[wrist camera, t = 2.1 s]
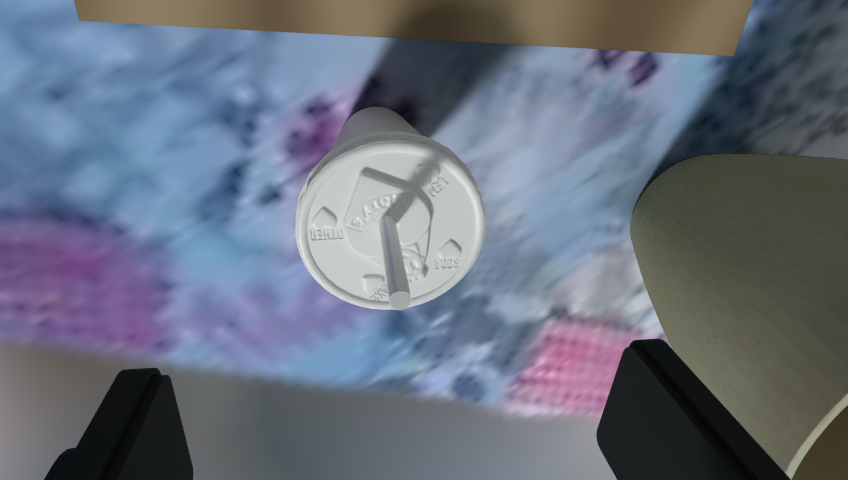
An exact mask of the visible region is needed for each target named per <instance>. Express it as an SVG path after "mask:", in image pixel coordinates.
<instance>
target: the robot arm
mask: <svg viewBox="0 0 848 480" xmlns="http://www.w3.org/2000/svg"><path fill="white" fill-rule="evenodd" d="M597 441H598V445H599V447H600V450H601V451H602V453H603V454H604V457H605V458H606V460H607V462H608V464H609V466H610V467H611V469H612V471H613V473H614V474H615V476H616V478H617V480H791V479H790V478H789V477H788V476H787V475H786V473H785V472H784V471H783V470H782V469H781V468H780V467H779V466H778V465H777V464H776V463H775V461H774V460H773V459H772V458H771V457H770V456H769V455H768V454H767V453H766V452H765V450H764V449H763V448H762V447H761V446H760V445H759V444H758V443H757V442H756V441H755V440H754V438H753V437H752V436H751V435H750V434H749V433H748V432H747V431H746V430H745V429H744V427H743V426H742V425H741V424H740V423H739V422H738V421H737V420H736V419H735V418H734V416H733V415H732V414H731V413H730V412H729V411H728V410H727V409H726V408H725V407H724V406H723V404H722V403H721V402H720V401H719V400H718V399H717V398H716V397H715V396H714V395H713V393H712V392H711V391H710V390H709V389H708V388H707V387H706V386H705V385H704V384H703V382H702V381H701V380H700V379H699V378H698V377H697V376H696V375H695V374H694V373H693V372H692V370H691V369H690V368H689V367H688V366H687V365H686V364H685V363H684V362H683V361H682V359H681V358H680V357H679V356H678V355H677V354H676V353H675V352H674V351H673V350H672V348H671V347H670V346H669V345H668V344H667V343H666V342H665V341H663V340H661V339H647V340H635V341H633V342H632V343H631V344H630V346H629V347H627V348H626V349H625V350H624V352H623V354H622V357H621V360H620V363H619V366H618V369H617V372H616V375H615V378H614V381H613V384H612V387H611V390H610V393H609V396H608V399H607V402H606V405H605V408H604V411H603V414H602V417H601V420H600V423H599V426H598V429H597ZM44 480H193V467H192V462H191V459H190V454H189V450H188V446H187V442H186V438H185V434H184V430H183V426H182V422H181V419H180V414H179V410H178V406H177V402H176V398H175V394H174V390H173V386H172V382H171V379H170V377H169V376H168V375H161V373H160V371H159V370H158V369H157V368H145V369H127V370H122V371H120V372H119V374H118V375H117V377H116V378H115V380H114V382H113V384H112V385H111V387H110V389H109V391H108V392H107V394H106V396H105V398H104V399H103V401H102V403H101V405H100V406H99V408H98V410H97V412H96V413H95V415H94V417H93V419H92V420H91V422H90V424H89V426H88V427H87V429H86V431H85V433H84V435H83V436H82V438H81V440H80V442H79V443H78V445H77V447H76V448H71V449H67V450H66V451H65V452H63V453H62V454H61V455H60V456H59V457H58V458H57V460H56V461H55V462H54V464H53V466H52V467H51V469H50V471H49V472H48V474H47V476H46V477H45V479H44Z"/></svg>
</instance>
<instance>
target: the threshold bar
mask: <svg viewBox="0 0 848 480" xmlns="http://www.w3.org/2000/svg"><path fill="white" fill-rule="evenodd" d="M74 2H75V6H76V10H77V14H78V18H79V21H93V22H111V23H130V24H148V25H167V26H185V27H203V28H222V29H240V30H259V31H277V32H296V33H314V34H332V35H351V36H369V37H388V38H406V39H424V40H443V41H461V42H480V43H498V44H516V45H535V46H553V47H572V48H590V49H609V50H627V51H645V52H664V53H682V54H701V55H719V56H734V54H735V51H736V48H737V45H738V42H739V40H740V37H741V34H742V31H743V28H744V26H745V23H746V20H747V17H748V14H749V12H750V9H751V6H752V3H753V0H74Z"/></svg>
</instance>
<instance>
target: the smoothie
mask: <svg viewBox="0 0 848 480" xmlns="http://www.w3.org/2000/svg"><path fill="white" fill-rule="evenodd" d="M485 229H486V215H485V208H484V203H483V200H482V196H481V194H480V192H479V189H478V186H477V184H476V182H475V180H474V178H473V176H472V175H471V173H470V171H469V169H468V167H467V166H466V165H465V164H464V163H463V162H462V161H461V160H460V159H459V158H458V157H457V156H456V155H455V154H454V153H453V152H452V151H451V150H450V149H449V148H447V147H445V146H443V145H441V144H440V143H438V142H436V141H434V140H432V139H430V138H428V137H426V136H422V135H421V134H420V133H419V132H418V131H416V130H415V129H414V128H413V127H412V126H411V125H410V124H409V123H408V122H407V121H406V120H405V119H403V118H402V117H401V116H400V115H399V114H397V113H396V112H394V111H392V110H390V109H387V108H383V107H369V108H365V109H362V110H360V111H358V112H356V113H355V114H353V115H352V116H351V117H350V118H349V119H348V120H347V121H346V123H345V124H344V126H343V128H342V130H341V132H340V134H339V136H338V138H337V140H336V142H335V144H334V146H333V148H332V150H331V152H329V153H327V154H326V155H325V157H324V158H323V159H322V160H321V161H320V162H319V163H318V164H317V165H316V166H315V167H314V168H313V170H312V171H311V172H310V173H309V175H308V177H307V179H306V181H305V183H304V185H303V187H302V189H301V191H300V194H299V199H298V205H297V211H296V230H295V231H296V241H297V246H298V250H299V253H300V256H301V258H302V260H303V262H304V264H305V266H306V268H307V269H308V271H309V272H310V274H311V275H312V276H313V277H314V279H315V280H316V281H317V282H318V283H319V284H320V285H321V286H322V287H324V288H325V289H326V290H327V291H329V292H330V293H332V294H333V295H335V296H336V297H338V298H340V299H342V300H344V301H346V302H349V303H352V304H354V305H358V306H361V307H366V308H372V309H385V310H389V309H396V310H403V309H406V308H407V307H412V306H416V305H419V304H422V303H425V302H427V301H430V300H432V299H434V298H436V297H438V296H440V295H441V294H443V293H445V292H446V291H448V290H449V289H450V288H452V287H453V286H454V285H455V284H457V283H458V282H459V281H460V280H461V279H462V278H463V277H464V275H465V274H466V273H467V272H468V271H469V269H470V268H471V267H472V265H473V263H474V262H475V260H476V258H477V256H478V254H479V252H480V250H481V247H482V244H483V240H484V236H485Z"/></svg>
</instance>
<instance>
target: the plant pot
mask: <svg viewBox="0 0 848 480" xmlns="http://www.w3.org/2000/svg"><path fill="white" fill-rule="evenodd" d="M630 234H631V240H632V244H633V248H634V251H635V255H636V258H637V262H638V265H639V268H640V271H641V275H642V278H643V280H644V283H645V286H646V289H647V291H648V294H649V297H650V299H651V302H652V304H653V307H654V309H655V311H656V314H657V316H658V319H659V321H660V323H661V326H662V328H663V330H664V332H665V335H666V337H667V339H668V341H669V343H670V345H671V348H672V350H673V351H674V352H675V353H676V354H677V355H678V356H679V357H680V358H681V359H682V361H683V362H684V363H685V364H686V365H687V366H688V367H689V368H690V369H691V370H692V372H693V373H694V374H695V375H696V376H697V377H698V378H699V379H700V380H701V381H702V382H703V384H704V385H705V386H706V387H707V388H708V389H709V390H710V391H711V392H712V393H713V395H714V396H715V397H716V398H717V399H718V400H719V401H720V402H721V403H722V404H723V406H724V407H725V408H726V409H727V410H728V411H729V412H730V413H731V414H732V415H733V416H734V418H735V419H736V420H737V421H738V422H739V423H740V424H741V425H742V426H743V427H744V429H745V430H746V431H747V432H748V433H749V434H750V435H751V436H752V437H753V438H754V440H755V441H756V442H757V443H758V444H759V445H760V446H761V447H762V448H763V449H764V450H765V452H766V453H767V454H768V455H769V456H770V457H771V458H772V459H773V460H774V461H775V463H776V464H777V465H778V466H779V467H780V468H781V469H782V470H783V471H784V472H785V473H786V475H787V476H788V477H789V478H790V479H791V480H848V160H845V159H835V158H823V157H810V156H795V155H768V154H710V155H699V156H695V157H692V158H689V159H686V160H683V161H681V162H679V163H676V164H675V165H673V166H672V167H670V168H668V169H667V170H665V171H664V172H663V173H661V174H660V175H659V176H658V177H657V178H656V179H655V180H653V181H652V182H651V184H650V185H649V186H648V187H647V188H646V190H645V191H644V192H643V194H642V195H641V197H640V198H639V200H638V202H637V204H636V206H635V209H634V211H633V214H632V218H631V223H630Z"/></svg>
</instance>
